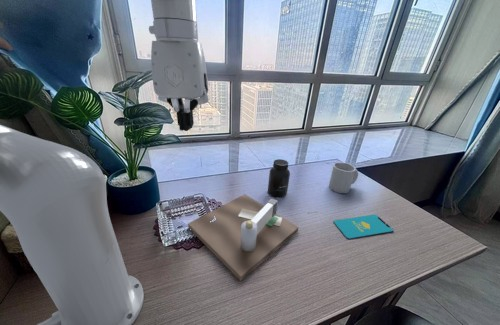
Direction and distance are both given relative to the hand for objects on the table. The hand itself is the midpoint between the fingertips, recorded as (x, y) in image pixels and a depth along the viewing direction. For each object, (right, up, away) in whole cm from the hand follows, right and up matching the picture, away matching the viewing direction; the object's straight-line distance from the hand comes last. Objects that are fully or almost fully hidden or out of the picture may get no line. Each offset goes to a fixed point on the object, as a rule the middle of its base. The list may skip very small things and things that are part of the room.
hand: (186, 128), depth 47 cm
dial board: (+12, -26, +10) cm, 30 cm away
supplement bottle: (+24, -18, +27) cm, 40 cm away
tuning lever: (+17, -25, +7) cm, 31 cm away
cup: (+49, -17, +31) cm, 60 cm away
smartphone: (+46, -26, +13) cm, 55 cm away
